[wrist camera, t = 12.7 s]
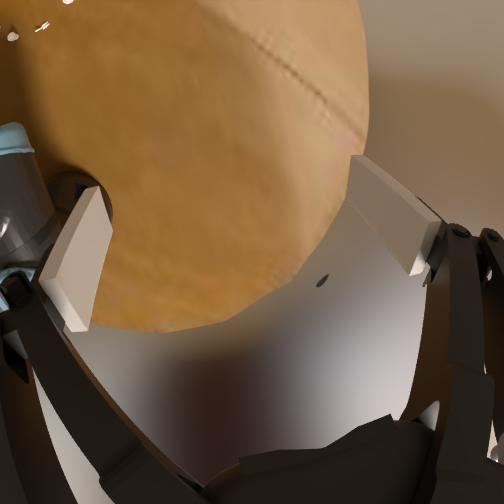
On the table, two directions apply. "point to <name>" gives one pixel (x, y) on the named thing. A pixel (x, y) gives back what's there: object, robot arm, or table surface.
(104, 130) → the table surface
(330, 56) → the table surface
